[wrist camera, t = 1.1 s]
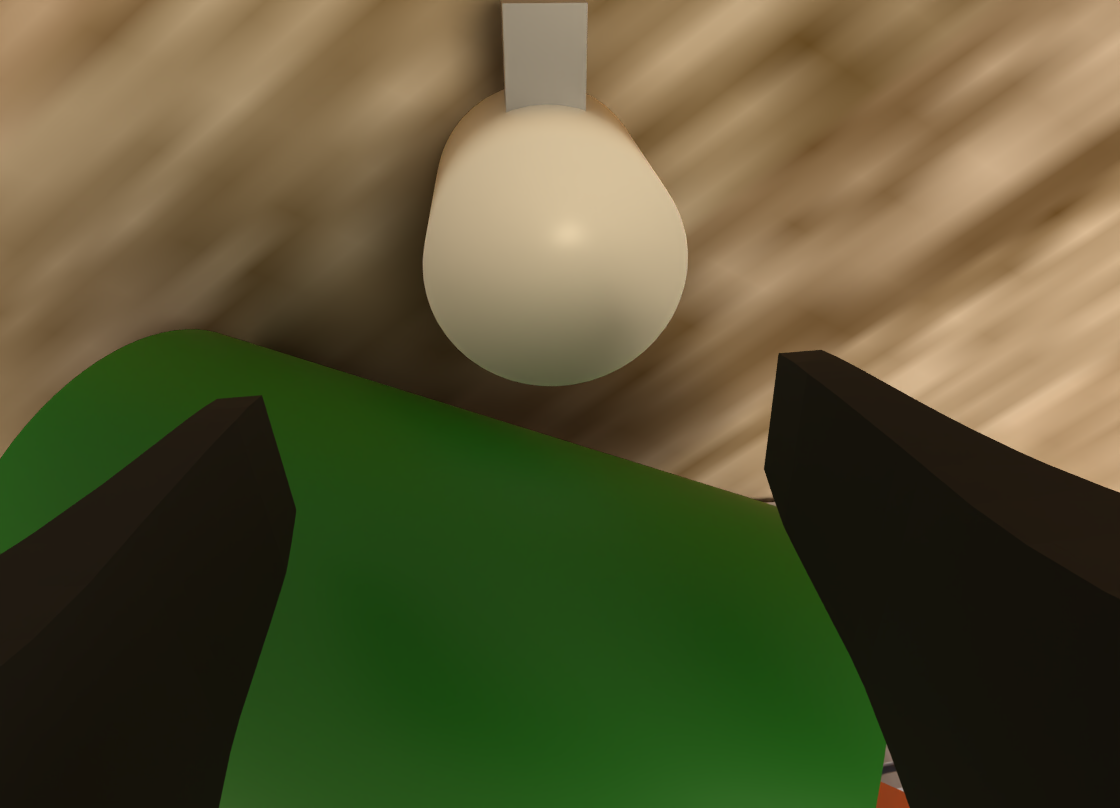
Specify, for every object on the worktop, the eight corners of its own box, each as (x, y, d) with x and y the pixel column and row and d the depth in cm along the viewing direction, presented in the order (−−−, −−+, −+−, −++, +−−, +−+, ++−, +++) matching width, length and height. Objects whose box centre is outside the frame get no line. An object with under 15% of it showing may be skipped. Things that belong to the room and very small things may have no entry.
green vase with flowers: (234, 636, 23) (909, 917, 19) (-73, 855, 15) (1006, 1442, 11) (278, 314, 21) (1072, 557, 17) (-66, 361, 12) (1371, 880, 8)
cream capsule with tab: (653, -9, 17) (711, 16, 12) (636, 283, 20) (677, 380, 16) (419, -7, 16) (396, 21, 12) (445, 290, 20) (434, 391, 16)
